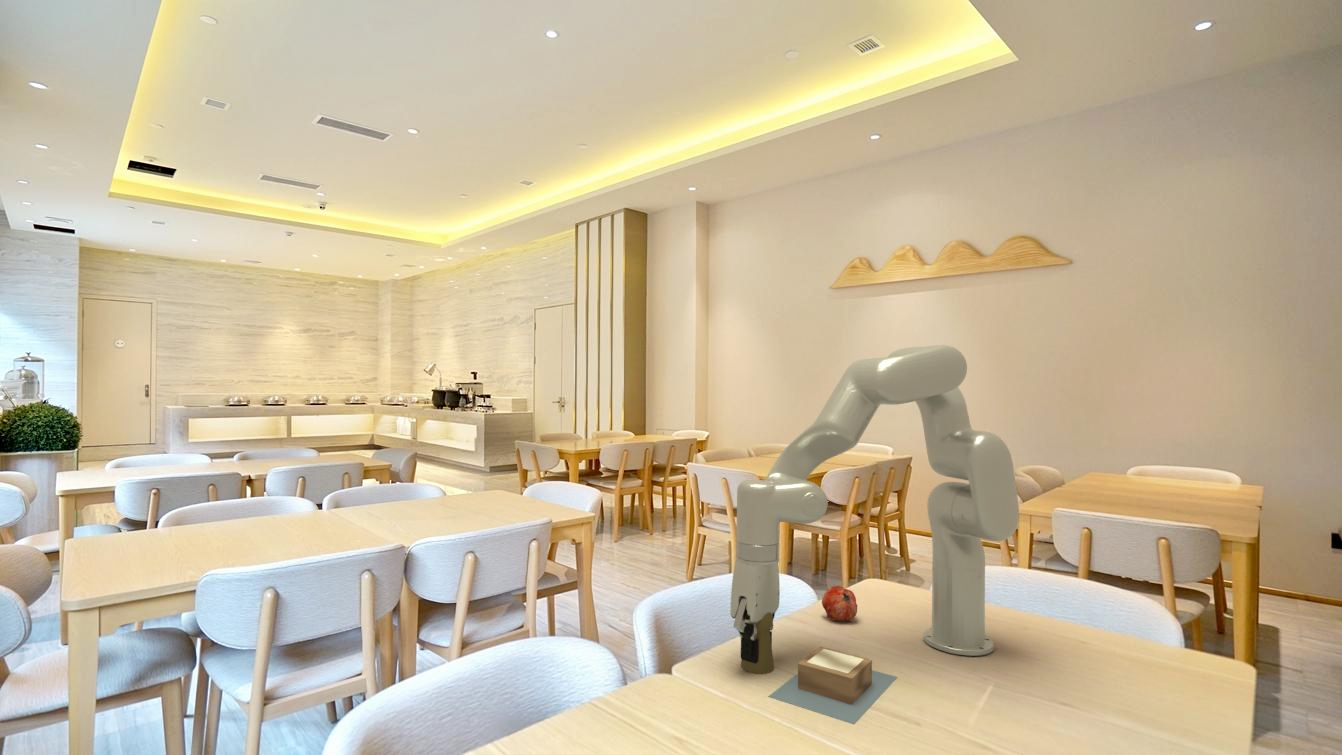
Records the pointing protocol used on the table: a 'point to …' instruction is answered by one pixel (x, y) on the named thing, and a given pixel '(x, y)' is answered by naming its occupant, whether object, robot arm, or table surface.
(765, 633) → the cork
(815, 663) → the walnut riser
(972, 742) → the table surface
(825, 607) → the pomegranate
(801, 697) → the board
